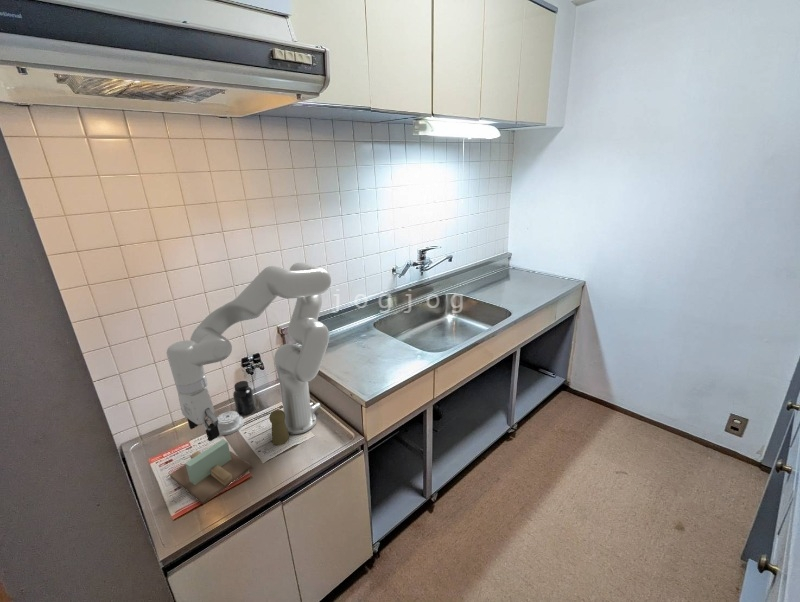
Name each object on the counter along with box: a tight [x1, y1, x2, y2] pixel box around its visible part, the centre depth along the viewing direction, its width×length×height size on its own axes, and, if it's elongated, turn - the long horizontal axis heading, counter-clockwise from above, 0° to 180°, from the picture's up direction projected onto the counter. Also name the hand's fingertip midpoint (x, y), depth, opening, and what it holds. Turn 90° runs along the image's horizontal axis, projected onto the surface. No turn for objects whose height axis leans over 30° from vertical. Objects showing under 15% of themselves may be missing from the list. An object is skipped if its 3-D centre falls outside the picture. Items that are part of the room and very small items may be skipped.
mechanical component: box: [216, 410, 245, 436], centre depth 135 cm, size 10×4×10 cm
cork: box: [268, 409, 291, 446], centre depth 127 cm, size 6×6×11 cm
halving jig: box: [169, 450, 253, 506], centre depth 115 cm, size 16×18×3 cm
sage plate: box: [184, 438, 231, 485], centre depth 113 cm, size 12×2×7 cm, turn 147°
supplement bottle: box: [232, 380, 256, 416], centre depth 142 cm, size 7×7×12 cm
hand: (204, 432), depth 110 cm, fingers open, 9 cm apart
